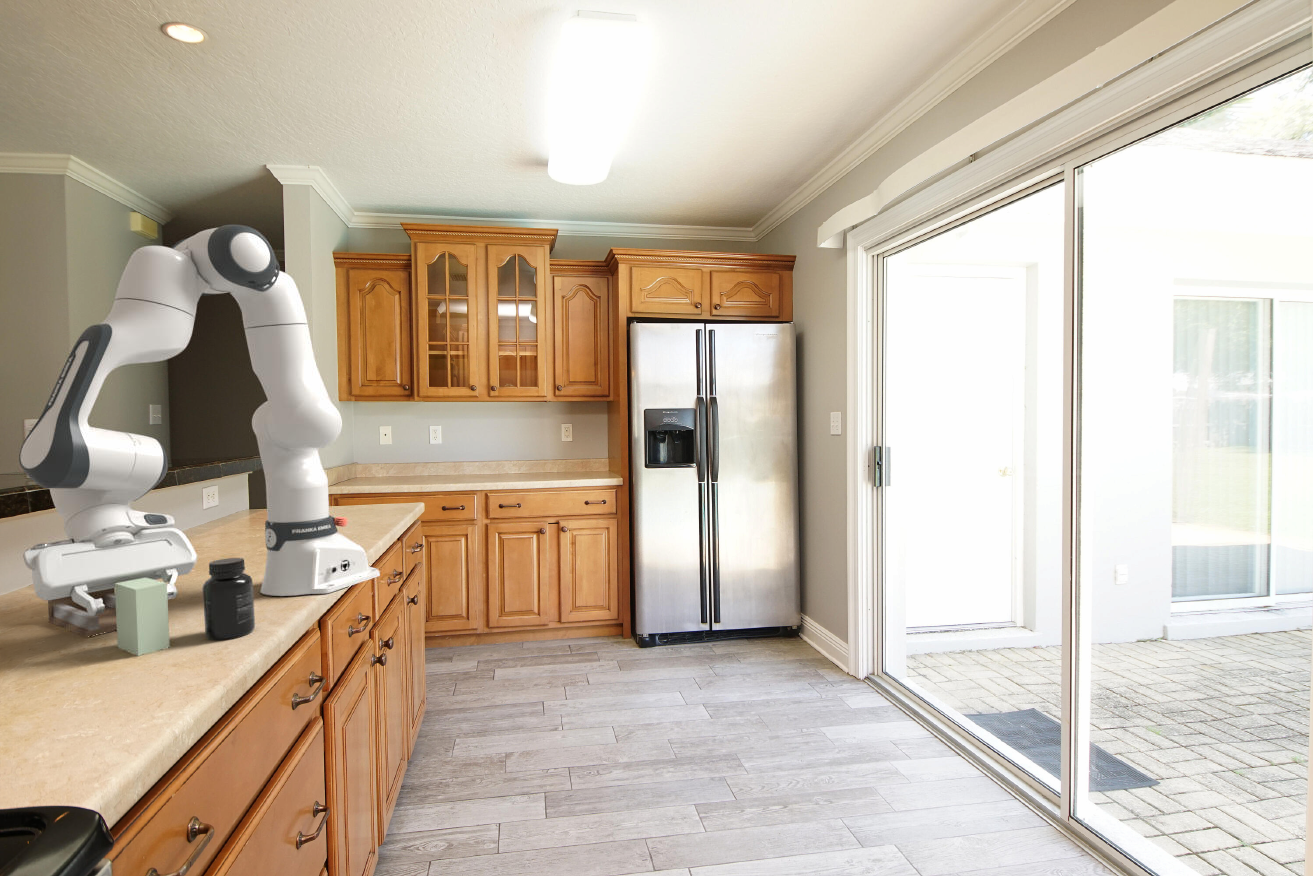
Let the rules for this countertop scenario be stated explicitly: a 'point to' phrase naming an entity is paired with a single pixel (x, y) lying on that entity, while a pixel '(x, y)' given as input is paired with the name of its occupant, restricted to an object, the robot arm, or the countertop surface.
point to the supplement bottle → (228, 600)
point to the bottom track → (84, 614)
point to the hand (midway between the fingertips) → (135, 604)
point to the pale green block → (142, 615)
